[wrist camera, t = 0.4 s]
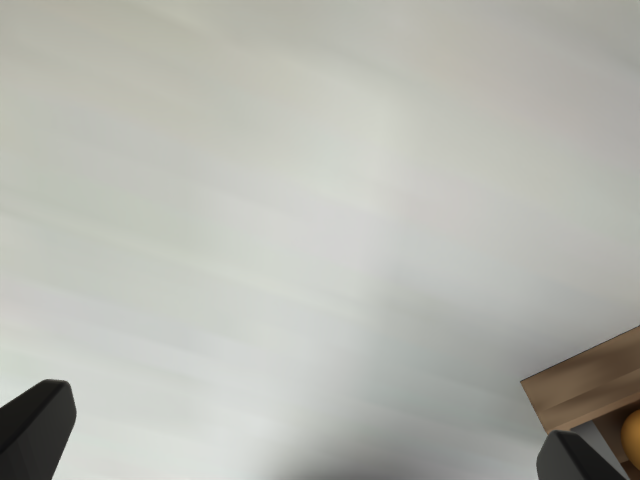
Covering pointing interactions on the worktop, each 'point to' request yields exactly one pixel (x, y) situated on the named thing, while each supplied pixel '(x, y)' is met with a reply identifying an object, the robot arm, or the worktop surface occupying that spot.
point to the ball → (632, 438)
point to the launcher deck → (592, 392)
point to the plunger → (598, 444)
